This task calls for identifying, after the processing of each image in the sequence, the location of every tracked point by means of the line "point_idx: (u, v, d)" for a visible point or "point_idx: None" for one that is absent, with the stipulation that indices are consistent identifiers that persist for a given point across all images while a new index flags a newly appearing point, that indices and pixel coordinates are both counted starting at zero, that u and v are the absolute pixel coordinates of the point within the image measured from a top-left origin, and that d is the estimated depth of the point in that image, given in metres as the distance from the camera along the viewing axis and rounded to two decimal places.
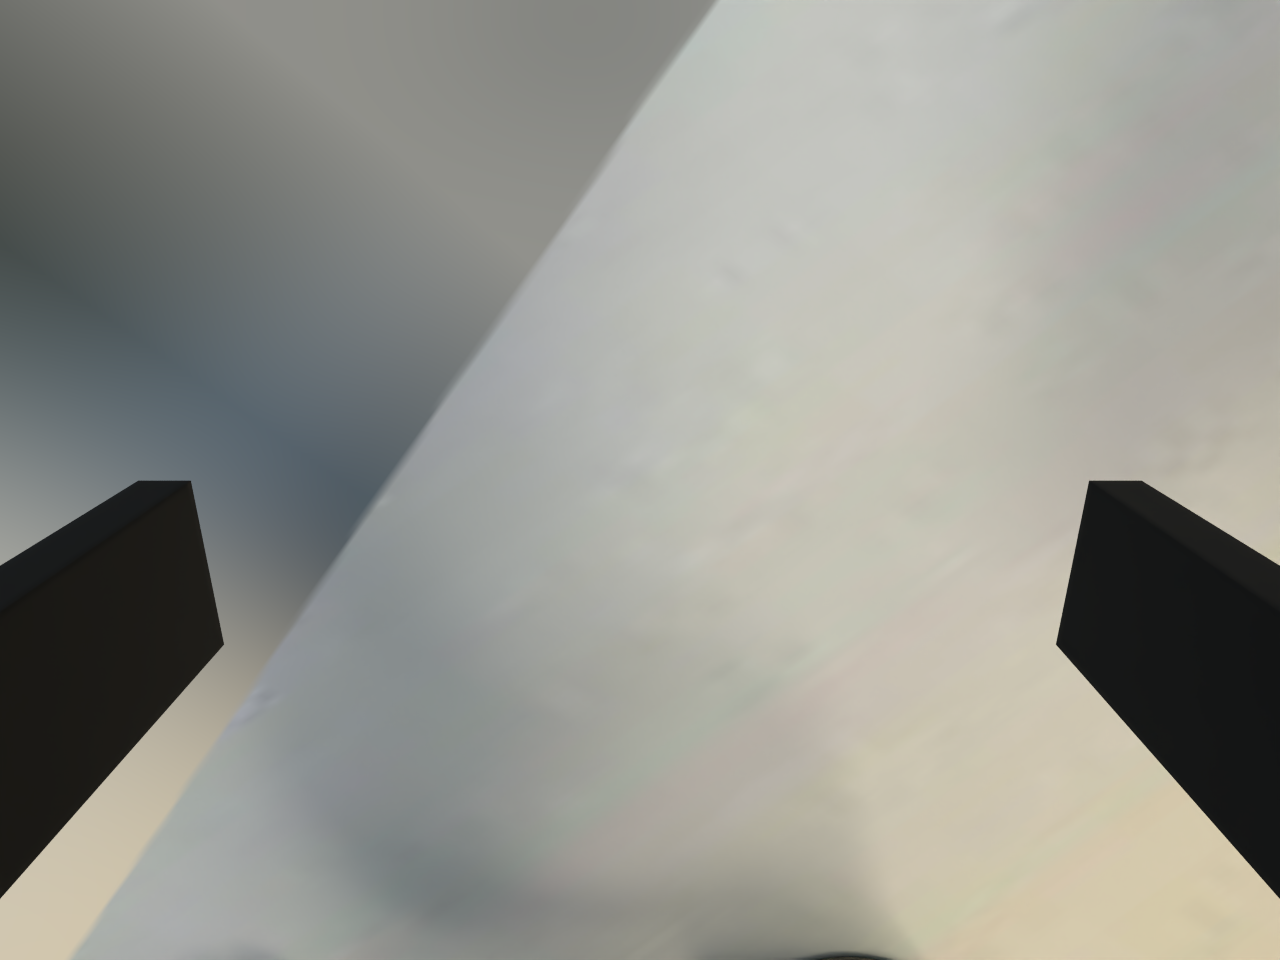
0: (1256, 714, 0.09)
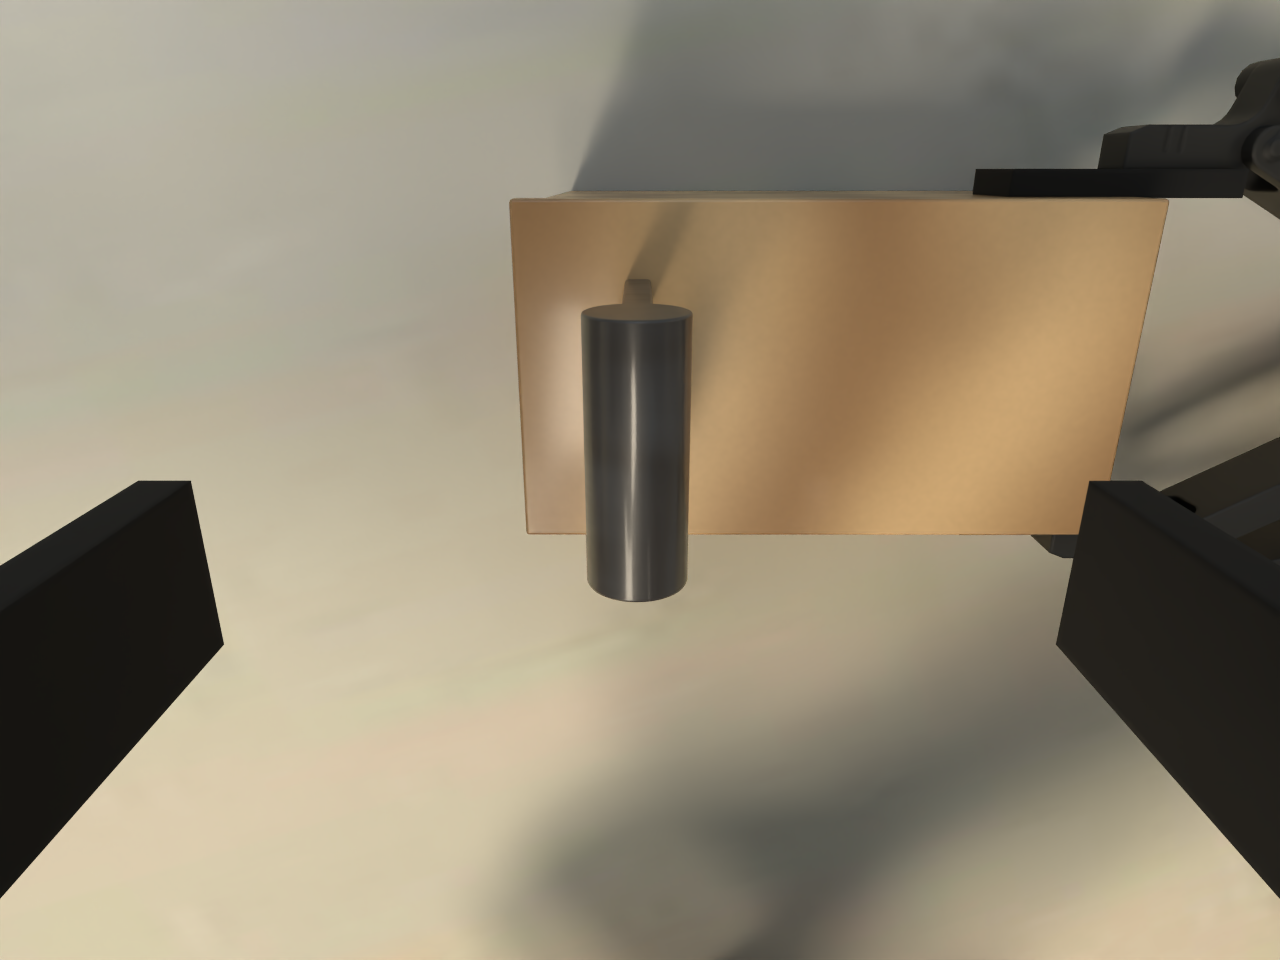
0: (1255, 714, 0.09)
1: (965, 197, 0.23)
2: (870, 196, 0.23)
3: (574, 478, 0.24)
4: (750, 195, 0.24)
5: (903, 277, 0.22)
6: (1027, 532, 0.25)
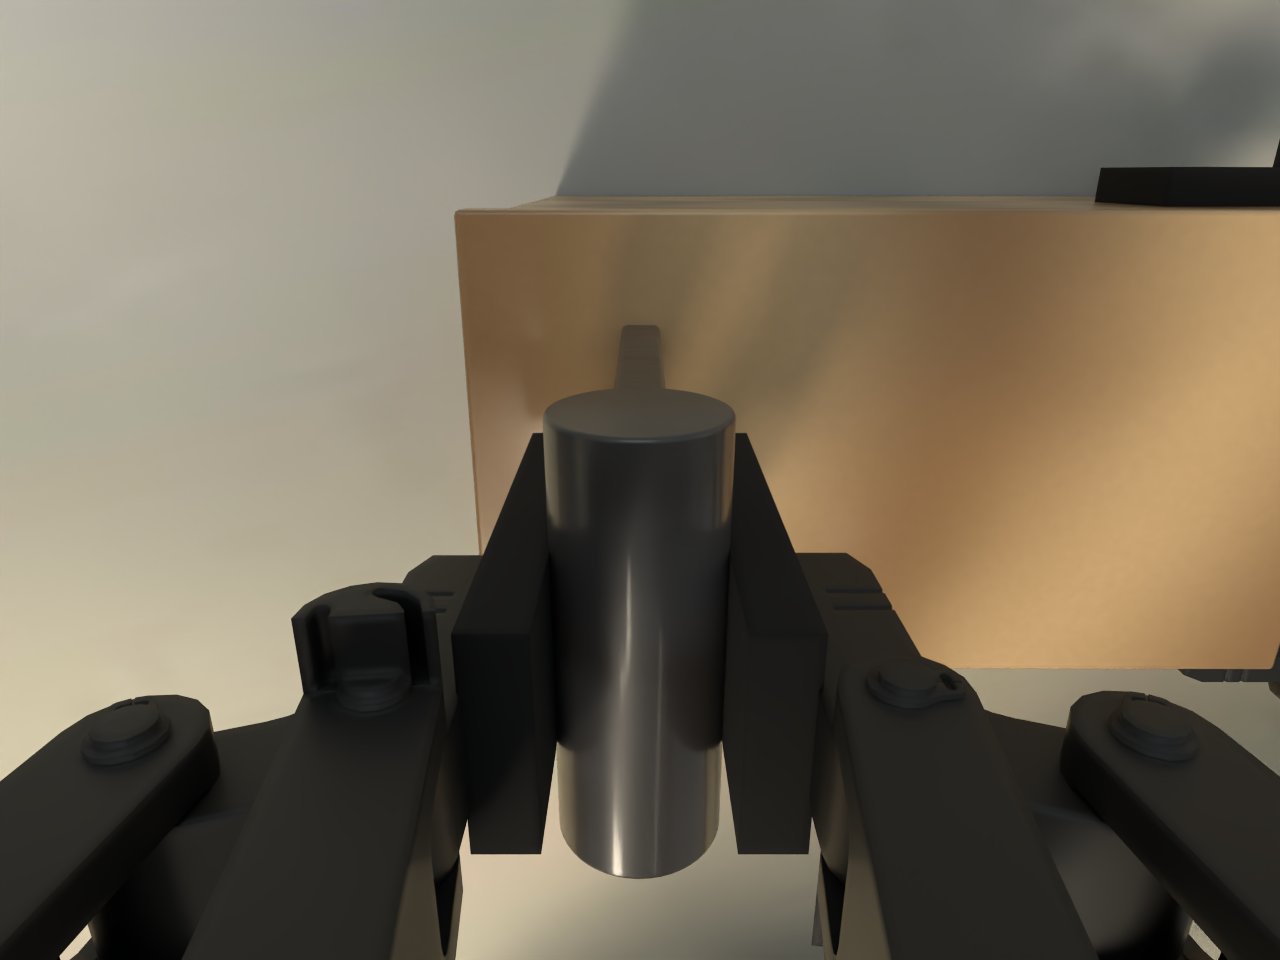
0: None
1: (1107, 207, 0.16)
2: (965, 205, 0.17)
3: None
4: (795, 203, 0.18)
5: (1021, 322, 0.15)
6: (1174, 666, 0.18)
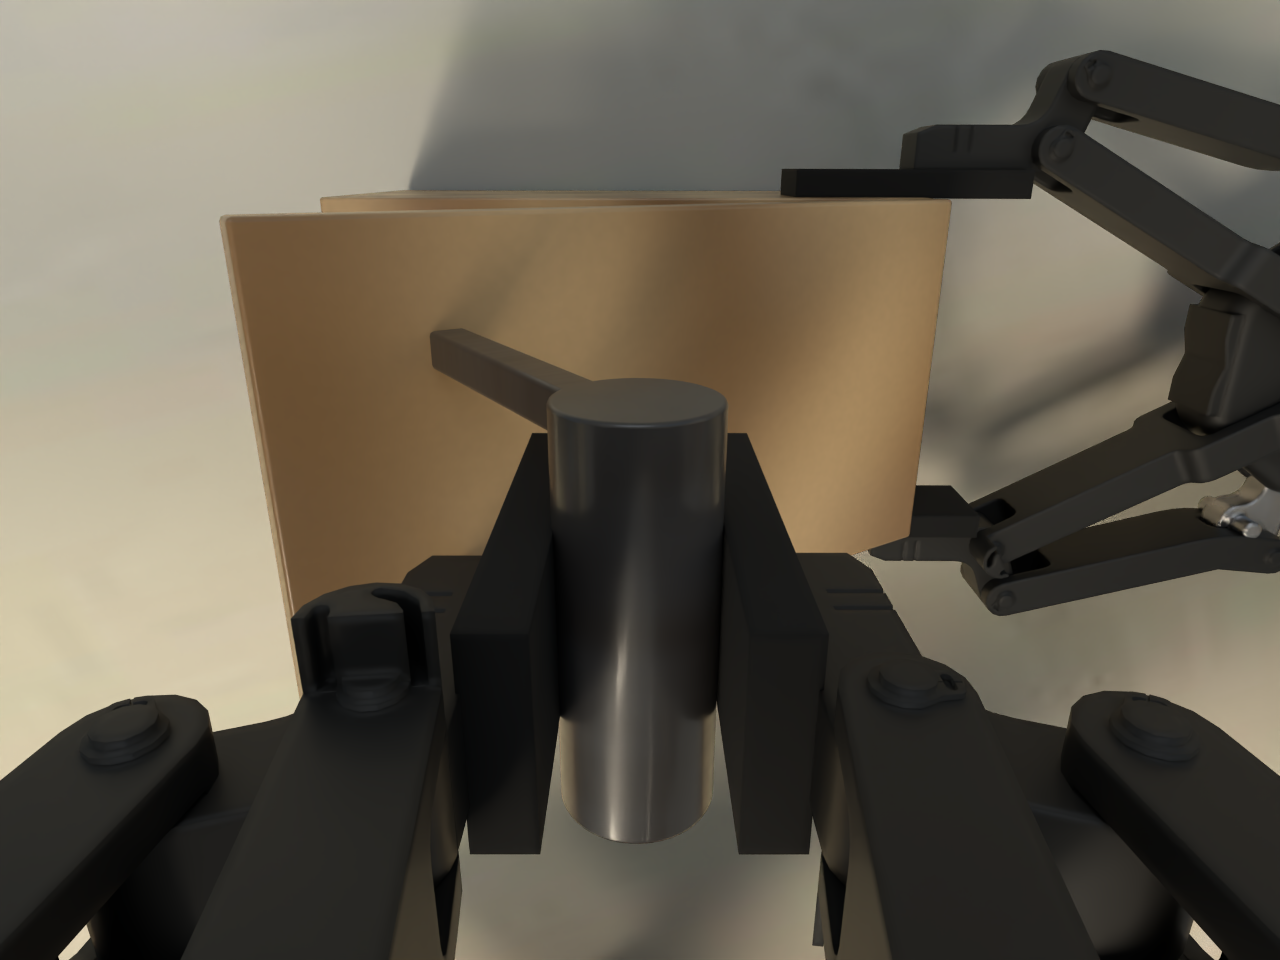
0: (721, 606, 0.11)
1: None
2: (662, 196, 0.23)
3: None
4: (549, 195, 0.24)
5: (748, 297, 0.19)
6: (859, 550, 0.24)
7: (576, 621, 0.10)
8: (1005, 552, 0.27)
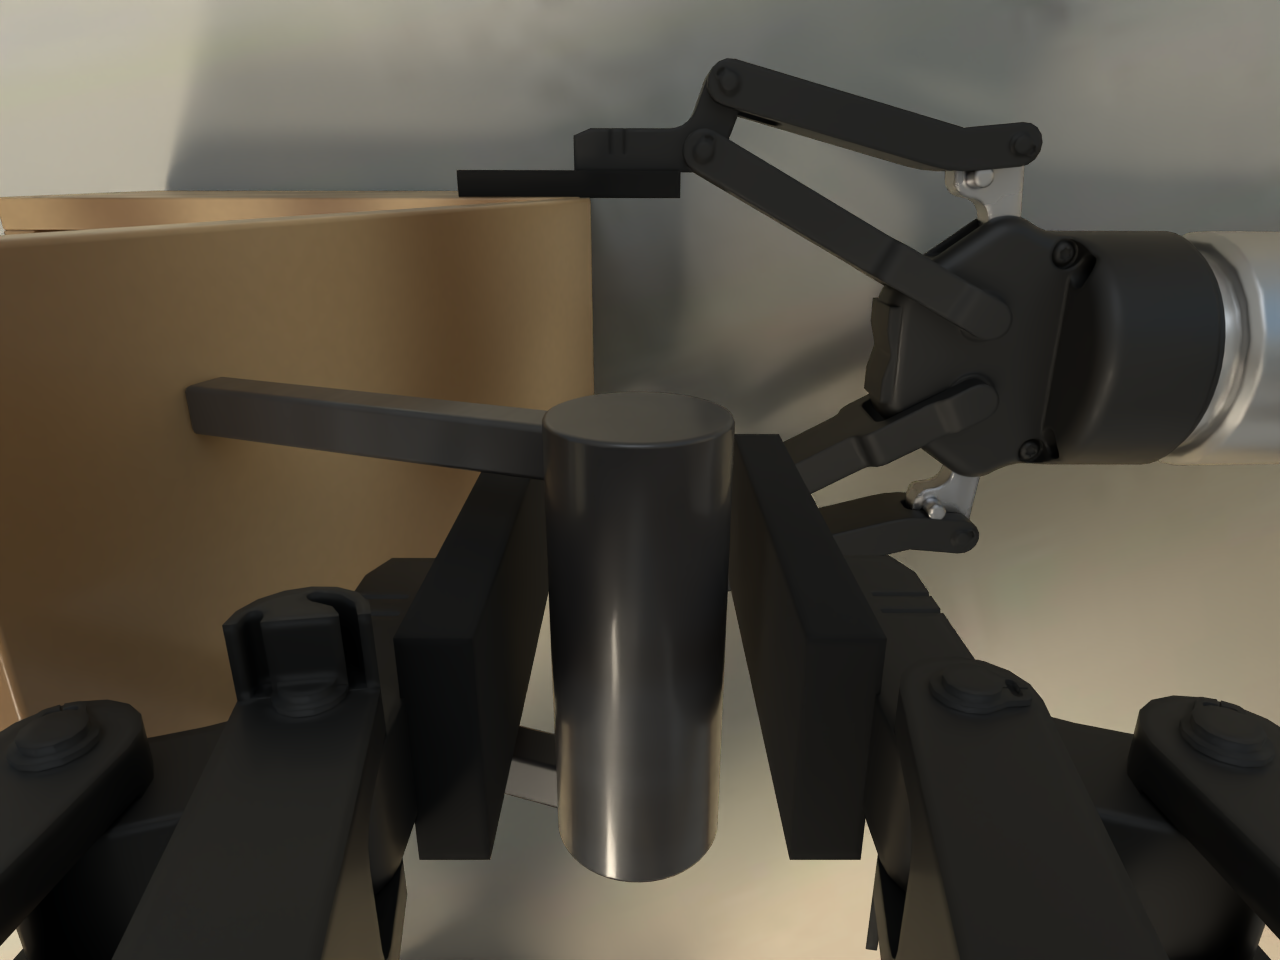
0: (762, 608, 0.11)
1: (407, 197, 0.24)
2: None
3: None
4: None
5: (469, 305, 0.18)
6: None
7: (626, 664, 0.09)
8: None
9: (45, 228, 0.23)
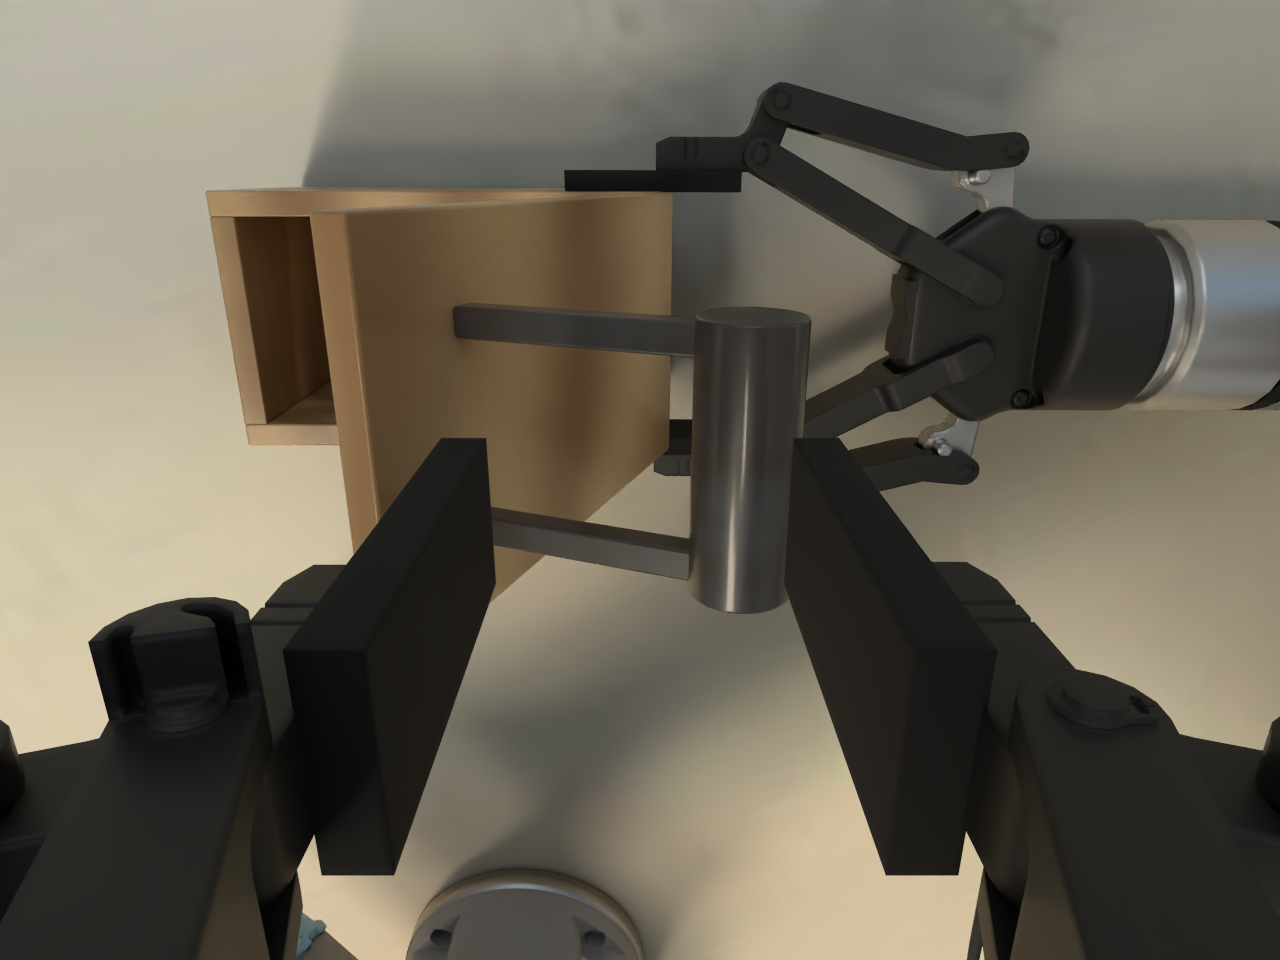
0: (840, 616, 0.11)
1: (526, 191, 0.30)
2: None
3: None
4: None
5: (596, 269, 0.24)
6: (650, 463, 0.31)
7: (744, 464, 0.16)
8: None
9: (242, 215, 0.30)
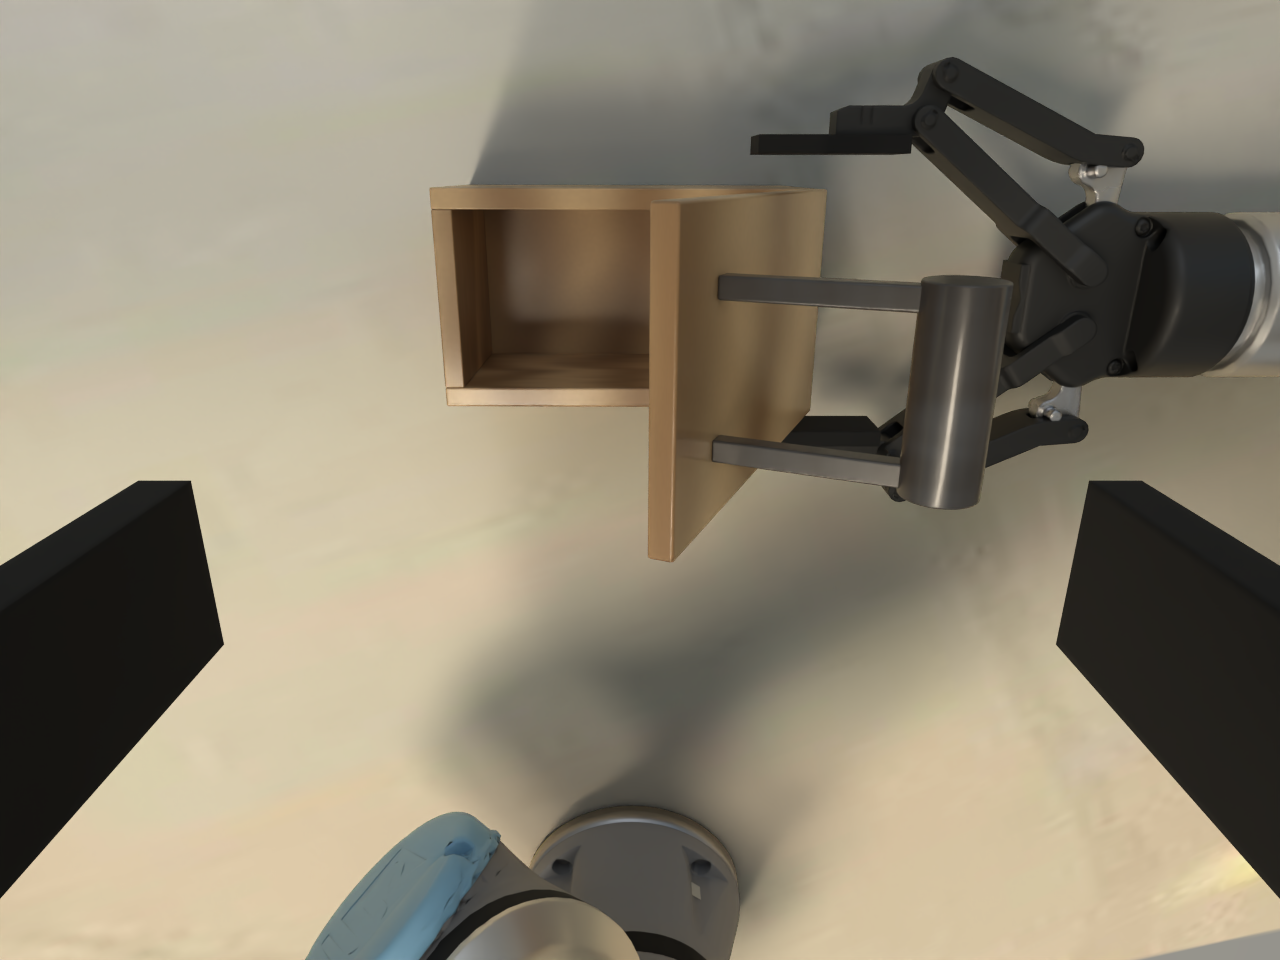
0: (1256, 714, 0.09)
1: (699, 188, 0.35)
2: None
3: (693, 485, 0.24)
4: None
5: (784, 251, 0.29)
6: (799, 421, 0.36)
7: (959, 391, 0.21)
8: (899, 455, 0.40)
9: (459, 208, 0.35)
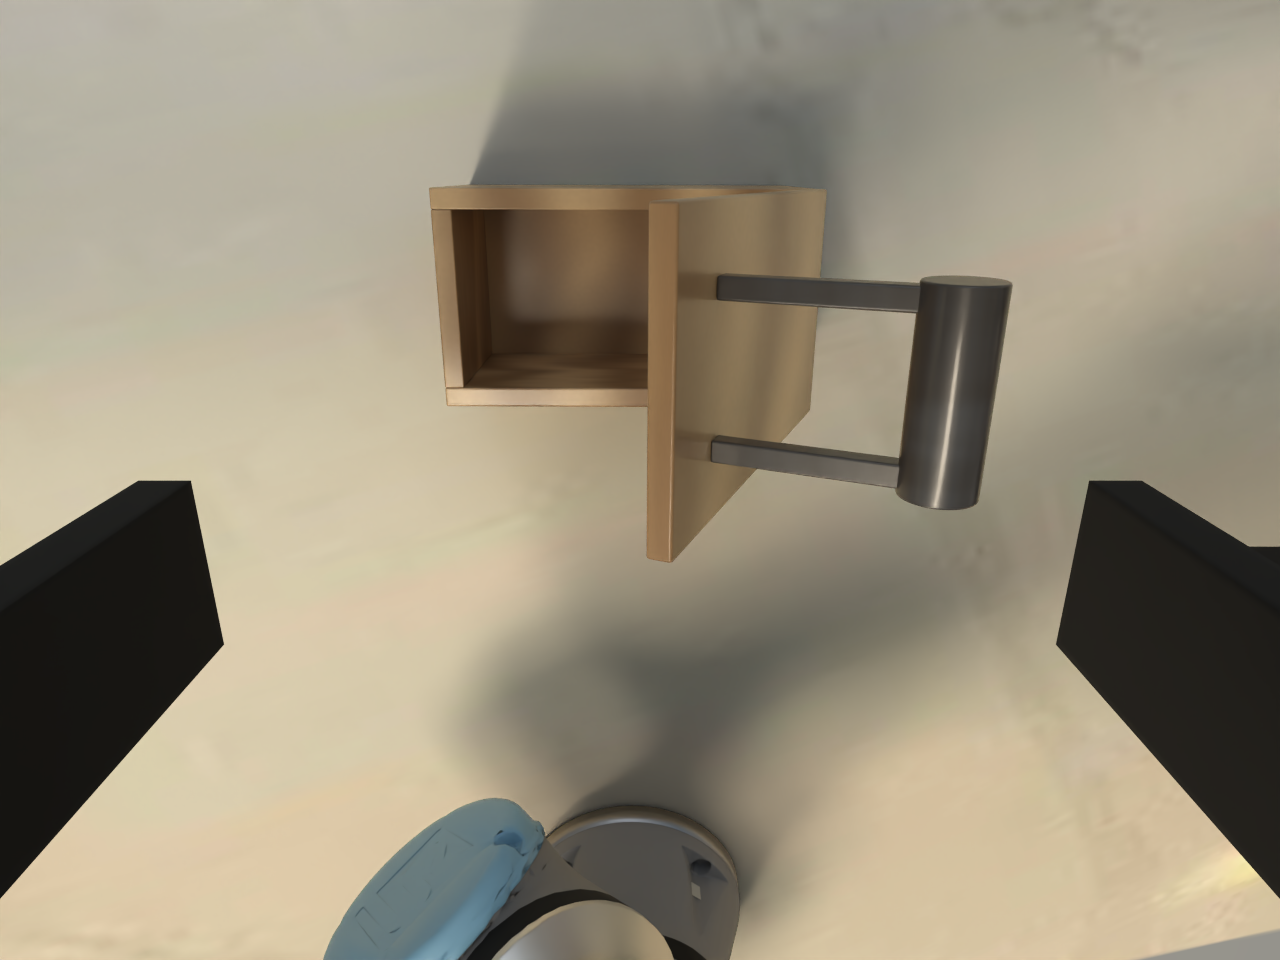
0: (1256, 714, 0.09)
1: (698, 188, 0.35)
2: None
3: (692, 485, 0.24)
4: None
5: (783, 251, 0.29)
6: (799, 421, 0.36)
7: (958, 392, 0.21)
8: None
9: (458, 208, 0.35)
